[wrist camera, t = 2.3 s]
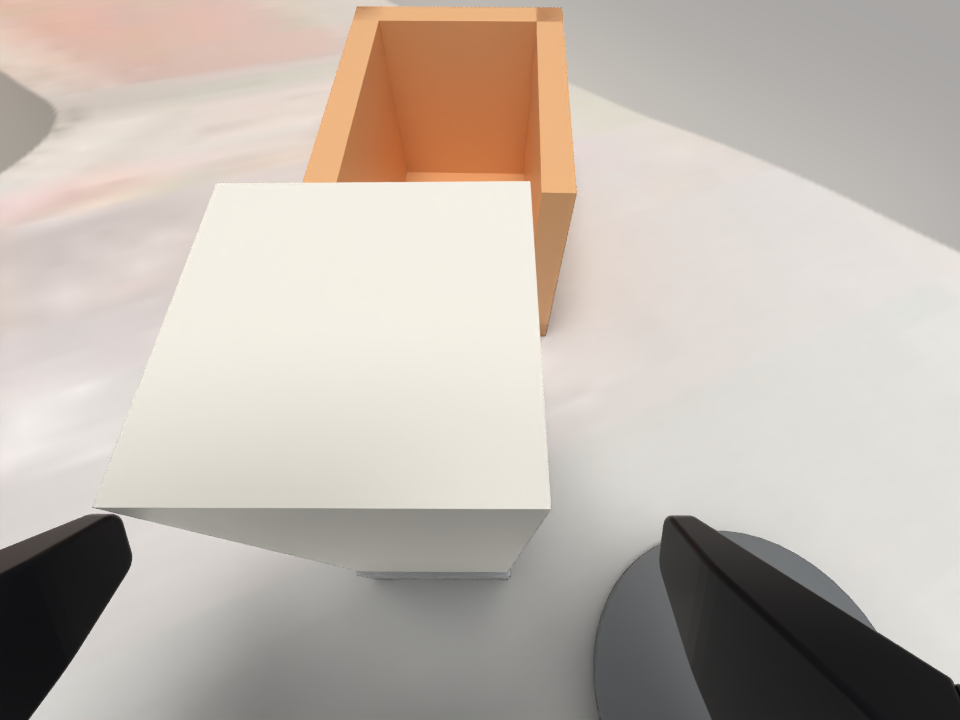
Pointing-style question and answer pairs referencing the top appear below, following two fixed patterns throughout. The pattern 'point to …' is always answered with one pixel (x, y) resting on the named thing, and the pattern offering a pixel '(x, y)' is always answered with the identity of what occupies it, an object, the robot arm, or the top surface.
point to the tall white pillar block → (349, 380)
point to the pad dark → (672, 637)
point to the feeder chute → (457, 111)
